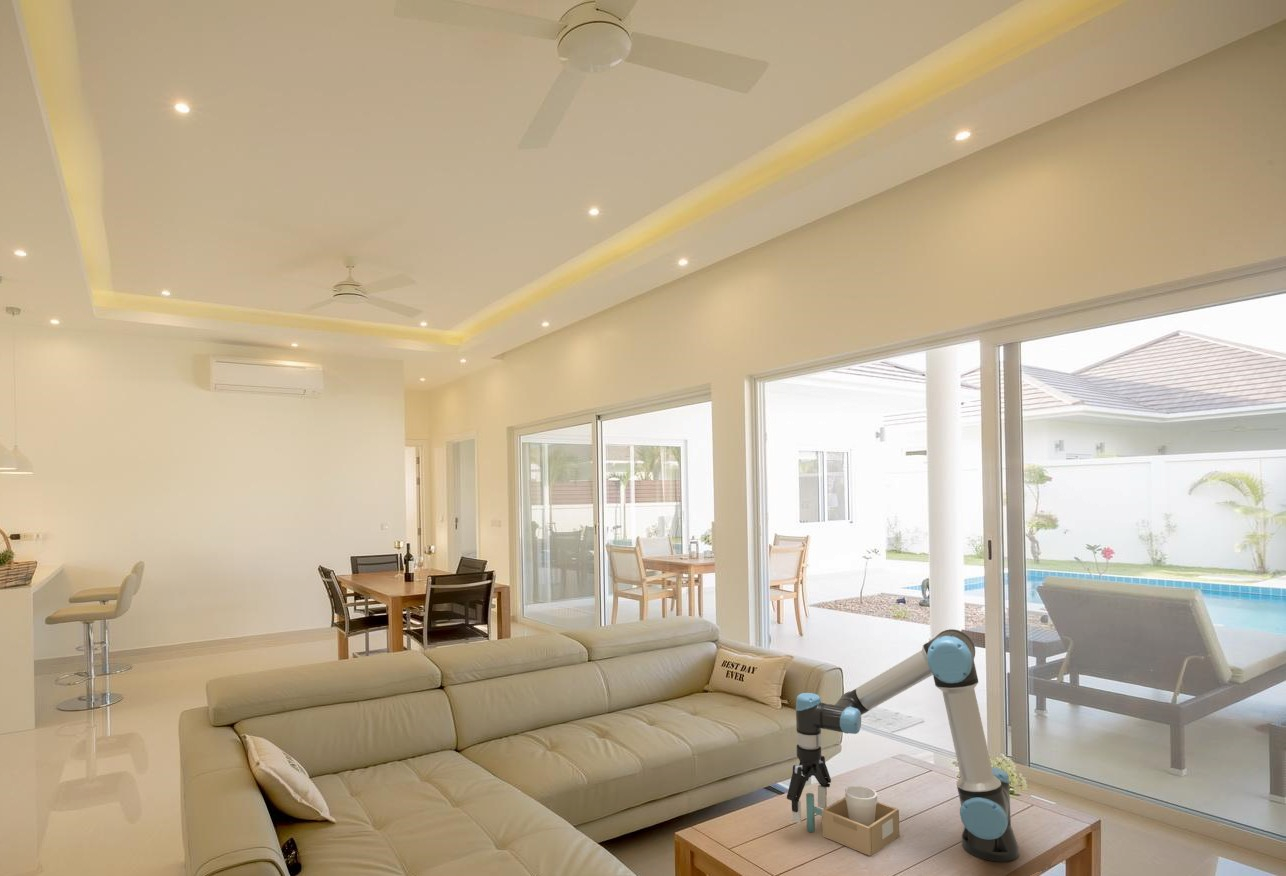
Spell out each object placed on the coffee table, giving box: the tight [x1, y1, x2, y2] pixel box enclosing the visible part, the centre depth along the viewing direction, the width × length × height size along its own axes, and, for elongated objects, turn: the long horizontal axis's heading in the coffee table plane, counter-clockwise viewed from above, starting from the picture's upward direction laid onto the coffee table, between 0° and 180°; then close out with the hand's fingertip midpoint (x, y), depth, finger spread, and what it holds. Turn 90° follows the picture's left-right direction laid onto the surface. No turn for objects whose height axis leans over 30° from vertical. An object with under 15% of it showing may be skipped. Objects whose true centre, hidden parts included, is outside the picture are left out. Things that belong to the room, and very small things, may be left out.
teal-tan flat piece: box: [805, 792, 872, 857], centre depth 219 cm, size 22×2×11 cm, turn 42°
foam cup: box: [844, 785, 878, 827], centre depth 223 cm, size 10×9×13 cm
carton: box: [824, 797, 901, 856], centre depth 223 cm, size 16×16×8 cm
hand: (809, 814), depth 226 cm, fingers open, 13 cm apart
